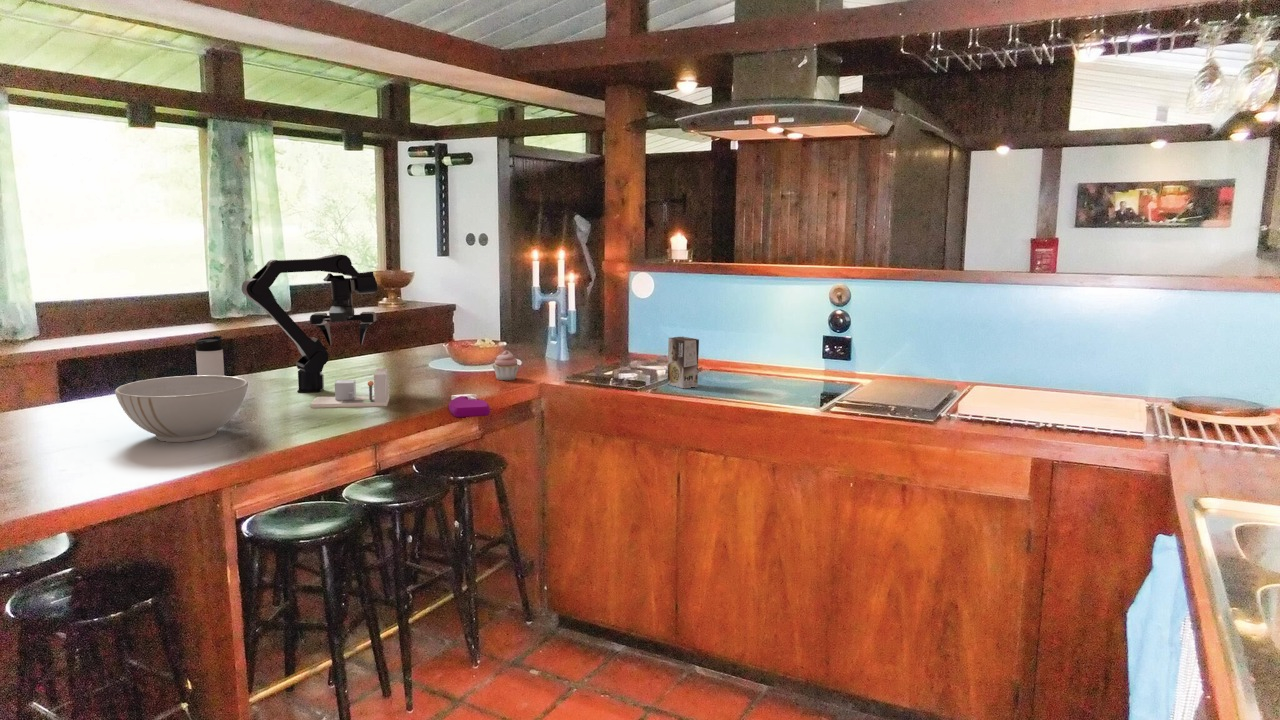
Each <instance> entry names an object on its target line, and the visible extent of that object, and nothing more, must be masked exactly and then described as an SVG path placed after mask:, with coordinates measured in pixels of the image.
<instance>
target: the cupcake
mask: <svg viewBox="0 0 1280 720" xmlns="http://www.w3.org/2000/svg"><path fill="white" fill-rule="evenodd" d="M495 358H496V359H495V360H494V364H491V366H492V368H493V370H494V372H495V377H496V379H497V380H498V381H503V380H505V381H508V380H509V381H514V380H516V378H517V374H518V372H519V371H518V370H519V368H520V366H521V364H518V359H517V358H516V357H515V356H514V354H513V353H512V352H511V351H509V350H507V349H505V350H504V351H503V352H502V353H501V354H499V355H497V356H496V357H495Z"/></svg>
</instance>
